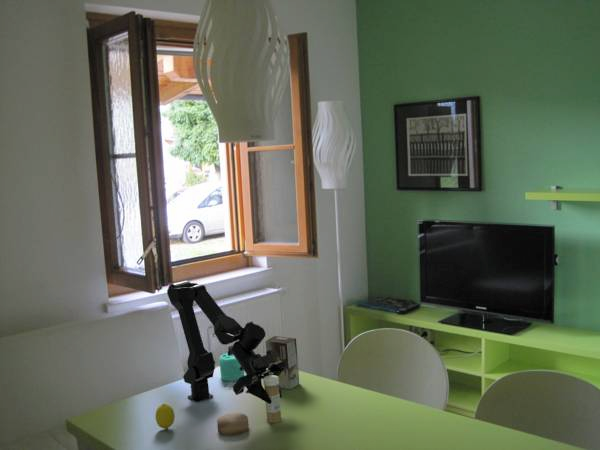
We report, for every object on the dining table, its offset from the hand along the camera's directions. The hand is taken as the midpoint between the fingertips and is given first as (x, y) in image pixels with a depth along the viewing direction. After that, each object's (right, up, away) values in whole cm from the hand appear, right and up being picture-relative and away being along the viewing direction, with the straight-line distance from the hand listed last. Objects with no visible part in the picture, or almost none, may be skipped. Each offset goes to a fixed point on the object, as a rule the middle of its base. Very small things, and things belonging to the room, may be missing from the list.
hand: (275, 400), depth 200 cm
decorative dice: (-17, -3, +41) cm, 45 cm away
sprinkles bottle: (-1, -7, +2) cm, 7 cm away
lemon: (-33, -9, +1) cm, 34 cm away
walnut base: (-12, -8, -3) cm, 15 cm away
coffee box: (+2, -3, +30) cm, 31 cm away
